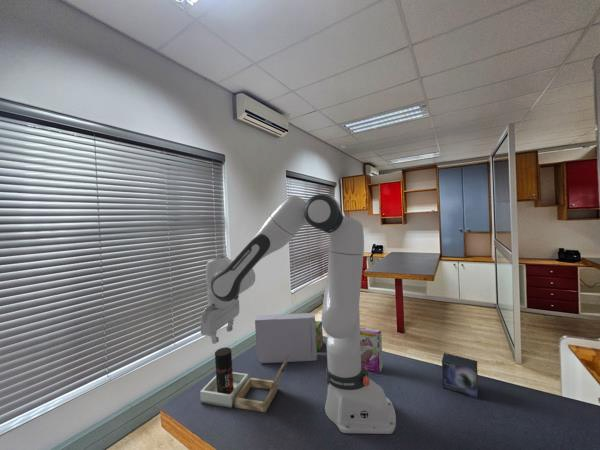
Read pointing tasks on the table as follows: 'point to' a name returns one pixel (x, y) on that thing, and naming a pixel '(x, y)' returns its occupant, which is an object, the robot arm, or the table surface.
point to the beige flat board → (277, 378)
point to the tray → (220, 399)
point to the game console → (286, 337)
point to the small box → (460, 375)
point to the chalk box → (318, 335)
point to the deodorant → (224, 370)
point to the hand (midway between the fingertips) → (223, 336)
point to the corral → (254, 404)
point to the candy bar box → (371, 349)
